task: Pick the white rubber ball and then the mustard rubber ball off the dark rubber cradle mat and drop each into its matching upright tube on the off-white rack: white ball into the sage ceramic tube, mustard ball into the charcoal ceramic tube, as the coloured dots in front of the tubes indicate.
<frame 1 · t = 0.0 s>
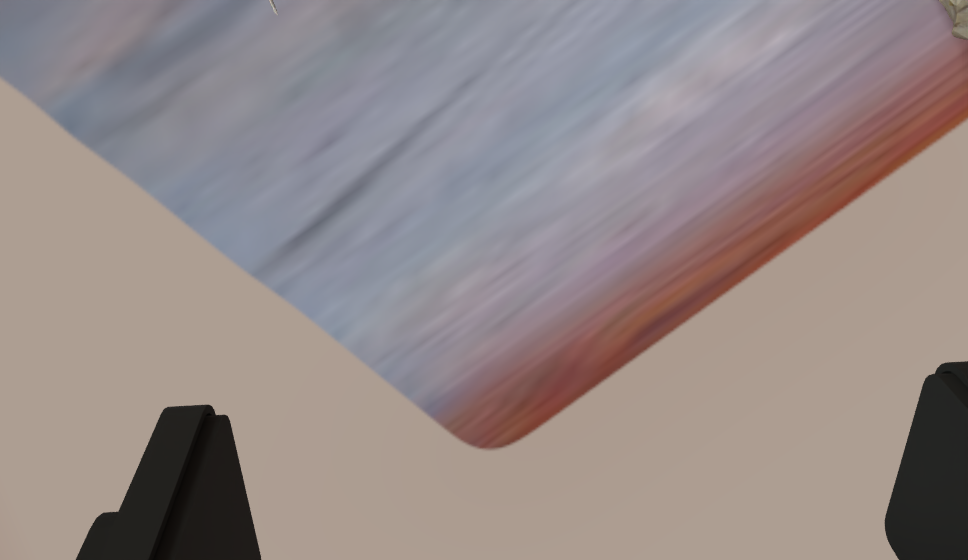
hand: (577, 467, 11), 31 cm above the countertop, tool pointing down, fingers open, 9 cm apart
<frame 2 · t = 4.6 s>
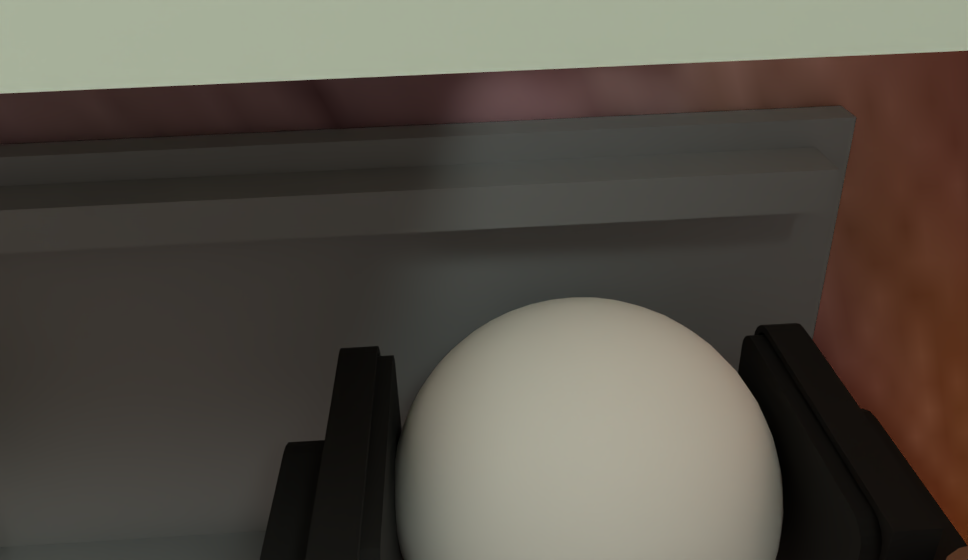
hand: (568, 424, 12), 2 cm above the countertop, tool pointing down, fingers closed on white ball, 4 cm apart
cradle mat: (212, 374, 14), on the countertop
white ball: (557, 373, 13), resting on cradle mat, touching gripper
when the fingers open (12 cm above the countertop, at t = 7.4 s): white ball drops 10 cm, resting on tube rack.
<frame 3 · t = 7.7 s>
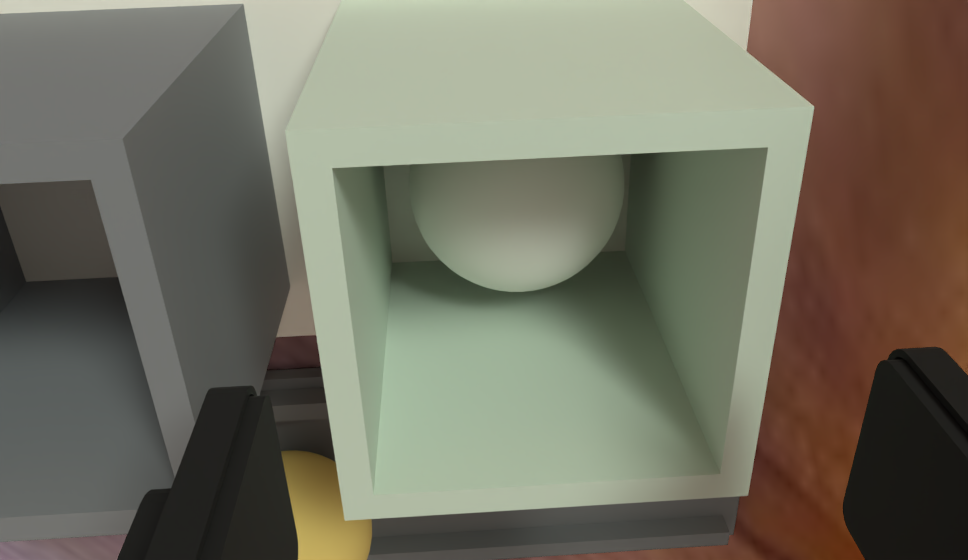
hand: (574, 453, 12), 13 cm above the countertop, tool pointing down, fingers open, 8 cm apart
mustard ball: (300, 476, 28), resting on cradle mat
cradle mat: (465, 456, 29), on the countertop
tube rack: (319, 139, 23), on the countertop
white ball: (507, 146, 22), point 1 cm above the countertop, touching tube rack
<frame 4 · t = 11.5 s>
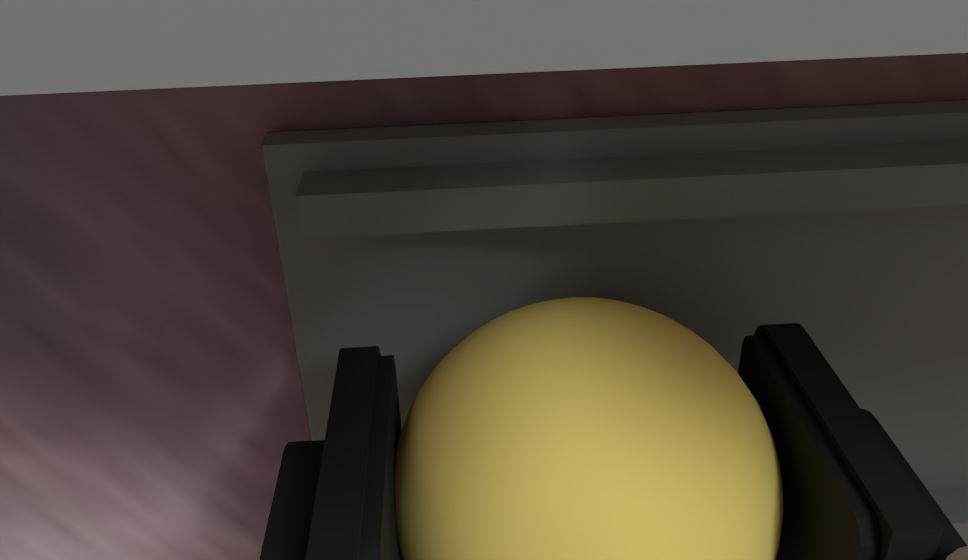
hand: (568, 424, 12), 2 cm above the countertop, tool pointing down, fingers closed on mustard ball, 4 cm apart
mustard ball: (557, 373, 13), resting on cradle mat, touching gripper
cradle mat: (886, 337, 14), on the countertop
when the fingers open (13 cm above the countertop, at t = 13.8 s): mustard ball drops 11 cm, resting on tube rack.
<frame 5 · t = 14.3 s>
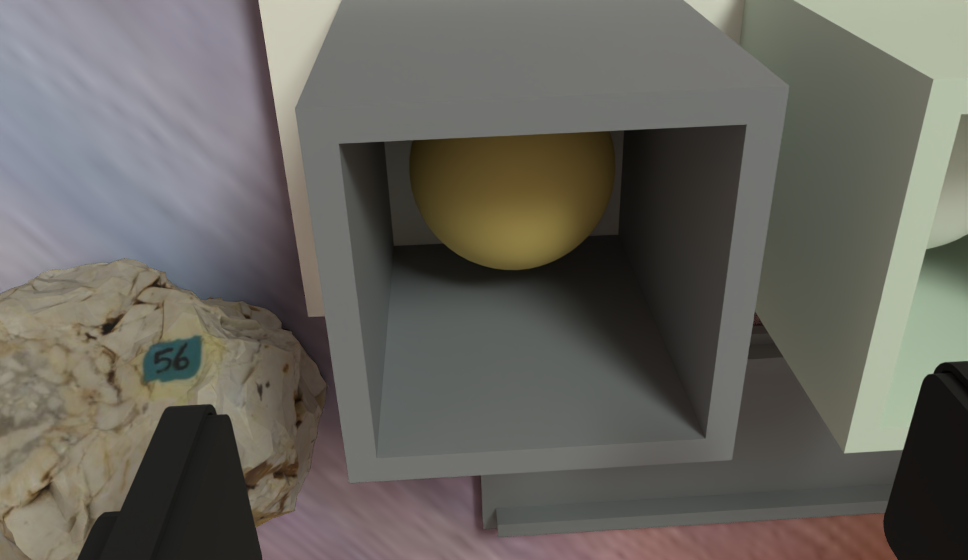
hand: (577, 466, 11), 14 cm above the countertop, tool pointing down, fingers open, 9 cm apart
mustard ball: (504, 132, 23), point 1 cm above the countertop, touching tube rack
cradle mat: (747, 420, 30), on the countertop
rock: (129, 326, 27), on the countertop
tube rack: (676, 110, 24), on the countertop
white ball: (869, 115, 23), point 1 cm above the countertop, tilted 5°, touching tube rack
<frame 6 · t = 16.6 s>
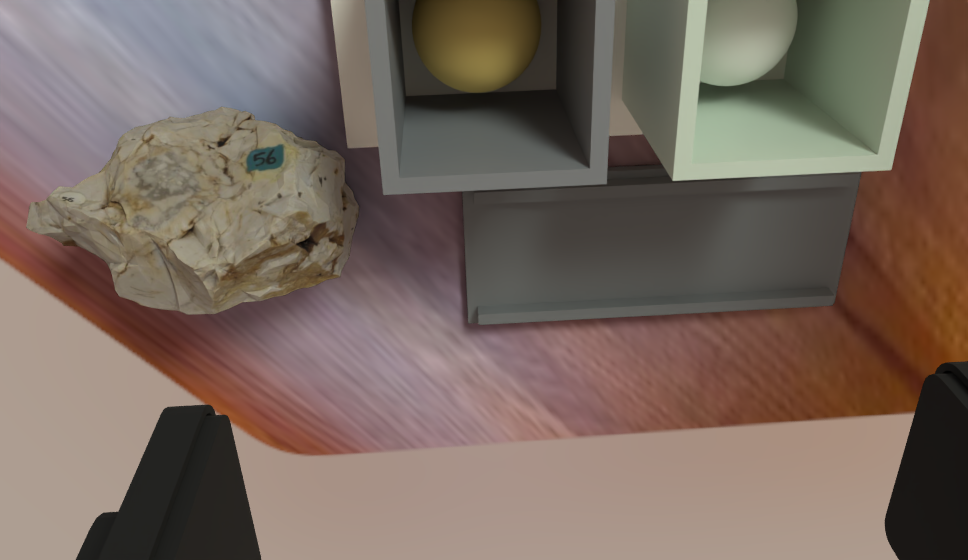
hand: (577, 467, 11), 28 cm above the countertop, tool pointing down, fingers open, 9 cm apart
mustard ball: (478, 15, 35), point 1 cm above the countertop, tilted 6°, touching tube rack
cradle mat: (655, 239, 42), on the countertop
rock: (223, 163, 39), on the countertop
tube rack: (594, 4, 36), on the countertop
white ball: (718, 5, 35), point 1 cm above the countertop, tilted 7°, touching tube rack
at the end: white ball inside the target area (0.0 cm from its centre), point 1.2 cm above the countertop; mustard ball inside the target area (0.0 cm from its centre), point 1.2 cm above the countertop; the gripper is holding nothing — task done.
